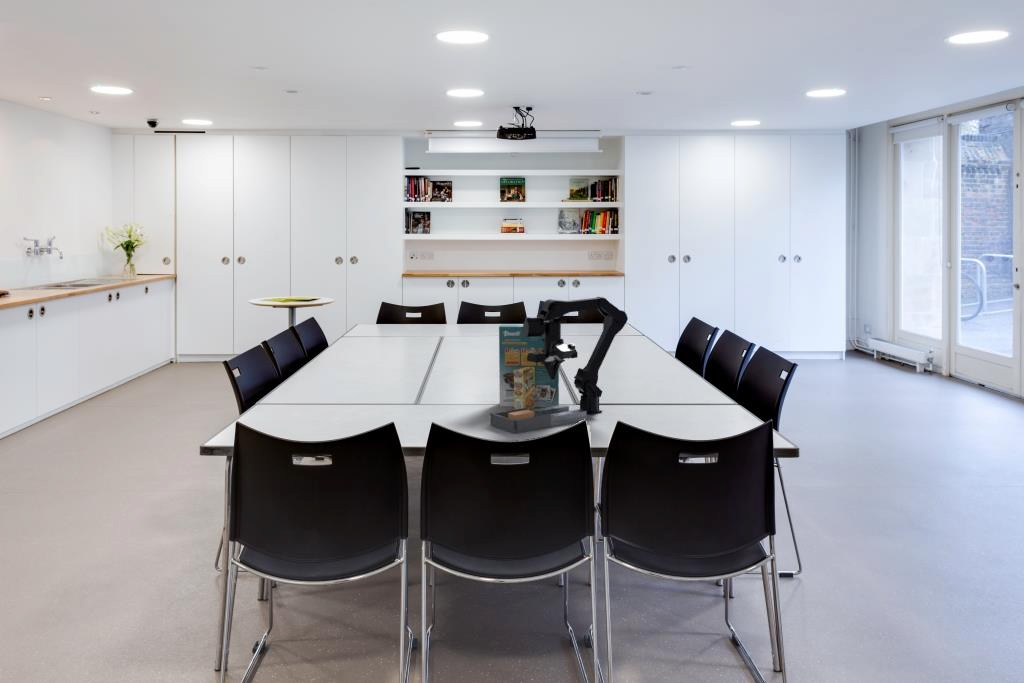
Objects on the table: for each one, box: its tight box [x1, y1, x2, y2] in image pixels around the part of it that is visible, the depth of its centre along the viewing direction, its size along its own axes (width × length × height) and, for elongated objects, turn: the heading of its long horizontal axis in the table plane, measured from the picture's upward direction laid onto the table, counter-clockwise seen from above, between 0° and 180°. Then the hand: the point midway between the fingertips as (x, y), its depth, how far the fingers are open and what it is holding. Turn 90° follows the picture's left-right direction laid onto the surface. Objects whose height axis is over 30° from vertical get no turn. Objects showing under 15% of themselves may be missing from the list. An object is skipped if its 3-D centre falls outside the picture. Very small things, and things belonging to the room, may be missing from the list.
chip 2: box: [518, 409, 534, 419], centre depth 285 cm, size 4×4×4 cm
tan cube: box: [508, 412, 525, 420], centre depth 283 cm, size 4×4×4 cm
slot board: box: [529, 404, 588, 428], centre depth 293 cm, size 16×14×3 cm
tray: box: [490, 408, 552, 435], centre depth 284 cm, size 15×14×4 cm
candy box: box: [513, 367, 536, 410], centre depth 309 cm, size 9×4×15 cm, turn 150°
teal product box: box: [498, 324, 560, 408], centre depth 315 cm, size 22×6×30 cm, turn 84°
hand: (552, 379), depth 298 cm, fingers closed
